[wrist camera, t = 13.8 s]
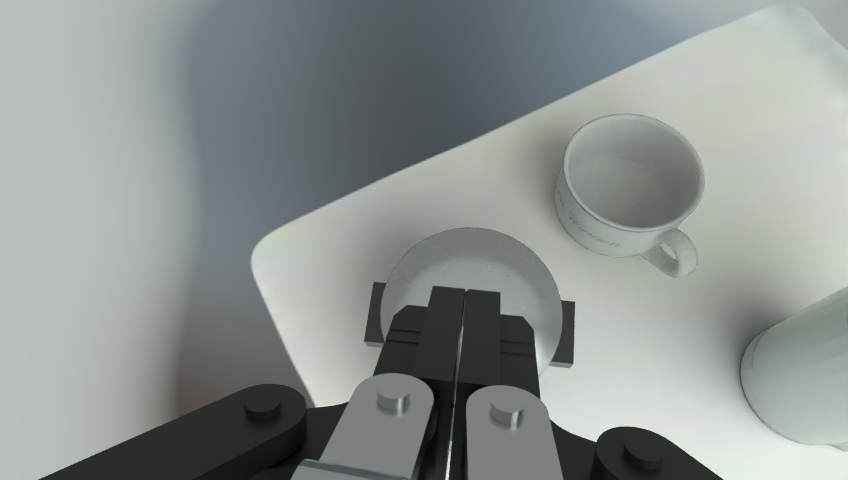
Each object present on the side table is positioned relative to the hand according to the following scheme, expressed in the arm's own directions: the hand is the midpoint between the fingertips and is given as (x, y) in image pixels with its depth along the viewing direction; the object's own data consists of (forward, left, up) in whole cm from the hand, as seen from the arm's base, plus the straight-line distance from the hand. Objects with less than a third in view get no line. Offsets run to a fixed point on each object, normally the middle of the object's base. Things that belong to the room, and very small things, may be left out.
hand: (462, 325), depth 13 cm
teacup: (-1, -23, -36) cm, 43 cm away
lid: (+4, -7, -27) cm, 28 cm away
